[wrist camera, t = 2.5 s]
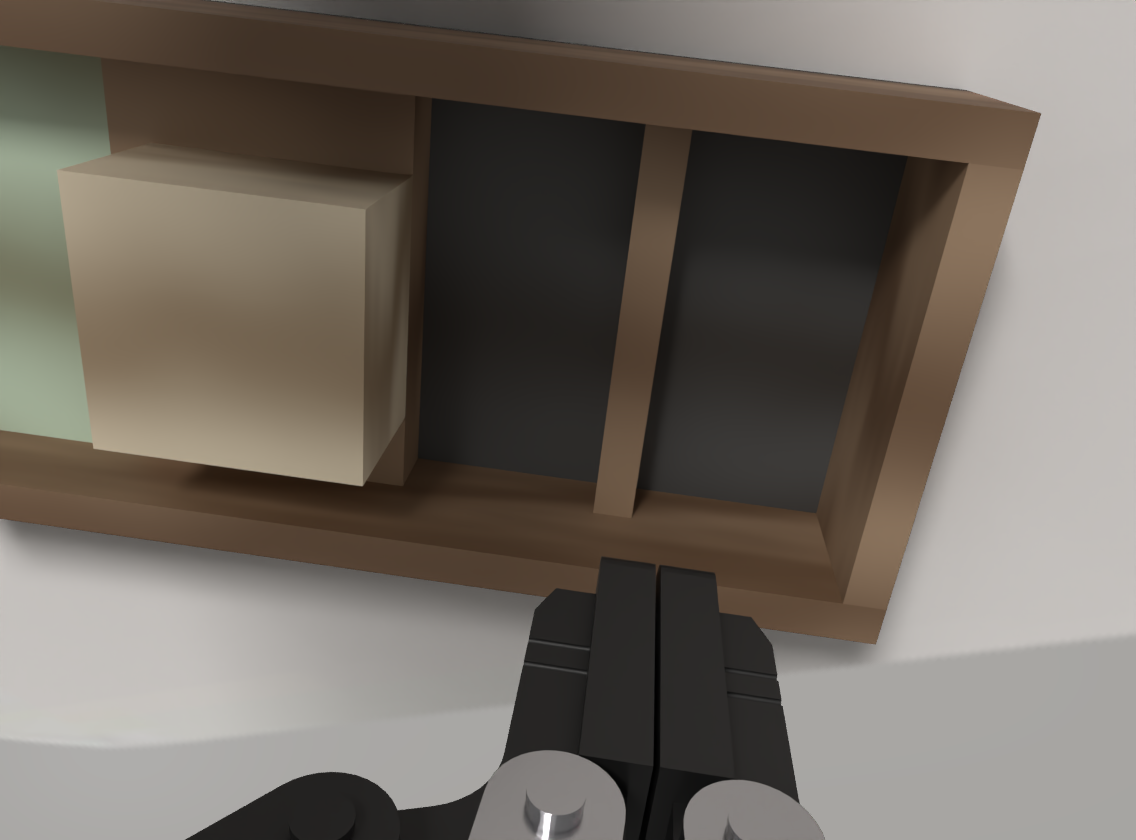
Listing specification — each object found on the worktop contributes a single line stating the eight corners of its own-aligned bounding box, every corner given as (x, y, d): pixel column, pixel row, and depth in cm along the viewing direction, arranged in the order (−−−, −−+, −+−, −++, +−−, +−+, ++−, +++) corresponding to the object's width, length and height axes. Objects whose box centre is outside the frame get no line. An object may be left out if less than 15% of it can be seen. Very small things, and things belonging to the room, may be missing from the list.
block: (152, 142, 21) (56, 169, 17) (413, 175, 20) (365, 209, 17) (173, 385, 23) (93, 448, 20) (405, 417, 23) (362, 486, 20)
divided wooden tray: (-147, -42, 22) (-336, -51, 18) (965, 90, 21) (1041, 113, 16) (-53, 416, 27) (-182, 492, 23) (841, 541, 26) (875, 644, 22)
